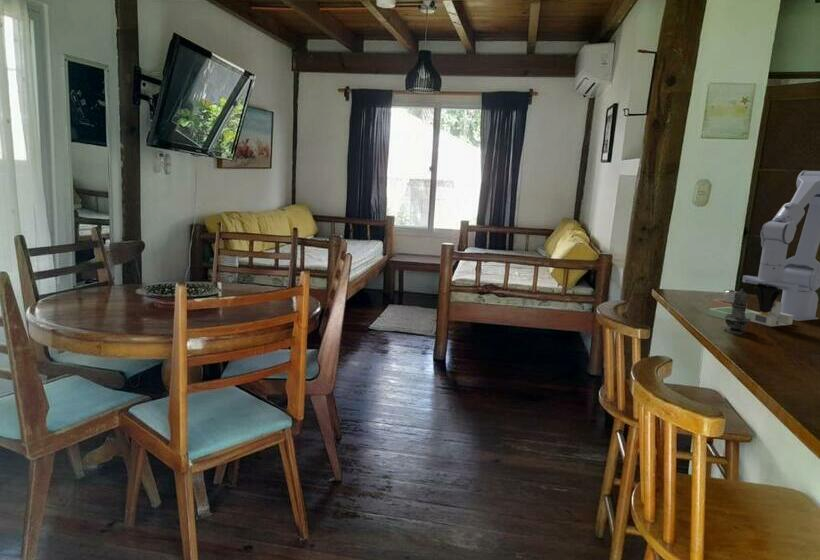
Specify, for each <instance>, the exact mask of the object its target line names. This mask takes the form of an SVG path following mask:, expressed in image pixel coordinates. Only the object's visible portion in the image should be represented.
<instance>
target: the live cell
mask: <svg viewBox="0 0 820 560" xmlns="http://www.w3.org/2000/svg"><path fill="white" fill-rule="evenodd" d="M781 306H782V303H781V301H778V300H775V301H774V303H773V305H772V307H771V309H770V311H769V312H768V315H771V316H775V317H777V319H776V324H779V318H780V312H781Z"/></svg>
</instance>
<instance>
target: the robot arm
mask: <svg viewBox="0 0 820 560" xmlns="http://www.w3.org/2000/svg"><path fill="white" fill-rule="evenodd" d="M808 204H809V206H808V211H807V213H805V212H806V211H805V209H804V208H806V206H807V205H808ZM805 214H806V216H805ZM804 216H805V221H804V224H803V227H802V230H801V234H800V238H799V242H798V245H797V249H796V251H795V255H793V256H791V257H788V258H787V256H788V255H787V253H788V248H789V244H790V243H791V242H792V241H793V240H794V237H795V235H796V231H797V226H798V224H799V223H800V222H801V220H802V219H803V217H804ZM759 235H760V247H761V248H762V249H761V255H760V261H759V269H758V274H757V276H755V275H754V276H753V275H742V280H741V282H742V283H747V284H752V285H756V286H754V287H753V290H754V292H755V295H756V296H757V301H758V306H759V313H760V312H769V311H770V309H771V307H772V305H773V303H774V301H777V298H778V297H779V296H780V295H781V300H780V303H782V306H781V313H785V314H789V315H794V316H793V320H794V321H798V322H799V321H801V322H802V321H811V320H819V317H816V314H817V309H818V303H819V295H818V293H817V292H816V291H817V290H819V289H820V261H818V260H817V259H816V257H817V253H818V249H819V246H820V170H806V169H805V170H804V169H803V170H802V171H801V172H800V173H799V174H798V175H797V178H796V191H795V193H794V194H793V197H792V198H791V200H790V201H789V202H787V203H784V204H783V205H782V206H781V208H779V210H778V211H777V213H776V215H775V216H774V217H773V218H772V219H771V220H770V221H767V222H765V223H764V224H763V225H762V227H761V230H760V233H759Z"/></svg>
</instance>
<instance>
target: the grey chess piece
mask: <svg viewBox="0 0 820 560" xmlns="http://www.w3.org/2000/svg"><path fill="white" fill-rule="evenodd" d="M747 300H748V294H747V292H745V290H744V289H743V287H742V288H740V290H738V291H736V293H735V296H734V303H733V304H732V305H733V307H732V312H731V315H729V316H726V317H725V319H726V320H725V324H726V325H727V328H724V329H723V331H725V332H726V333H729V334H732V335H733V334H734V335H739V334H740V335H742V336H743V335H746V331H745V330H744V329H745V328H747V327H748V325H749V323H751V321H750V319H747V318H746V317H745V310H746V309H747V308H746V307H748V304H747ZM746 304H747V305H746Z"/></svg>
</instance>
